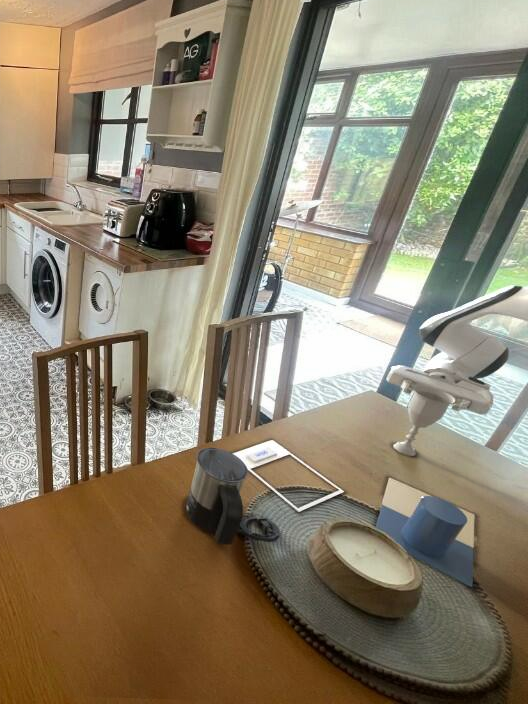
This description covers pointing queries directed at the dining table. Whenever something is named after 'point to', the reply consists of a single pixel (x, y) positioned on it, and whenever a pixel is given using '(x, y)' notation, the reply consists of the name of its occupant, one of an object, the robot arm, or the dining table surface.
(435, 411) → the chalice
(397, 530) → the board
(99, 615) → the dining table surface
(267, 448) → the photo frame
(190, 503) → the milk frother
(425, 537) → the short blue cylinder
